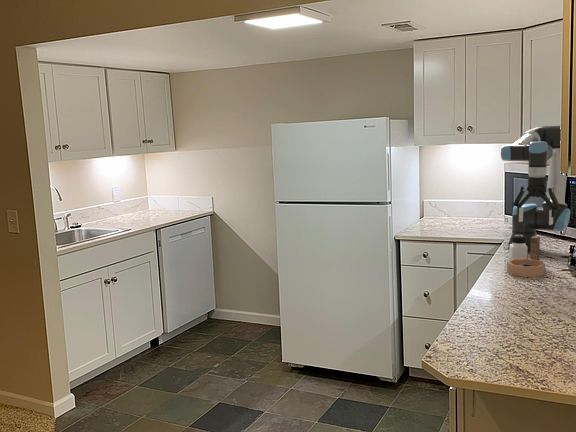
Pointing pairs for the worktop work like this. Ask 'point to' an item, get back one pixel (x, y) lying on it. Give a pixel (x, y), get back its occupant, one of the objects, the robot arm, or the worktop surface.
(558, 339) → the worktop surface
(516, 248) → the medicine bottle
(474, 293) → the worktop surface
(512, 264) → the orange octagonal tray
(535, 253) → the wooden bar
